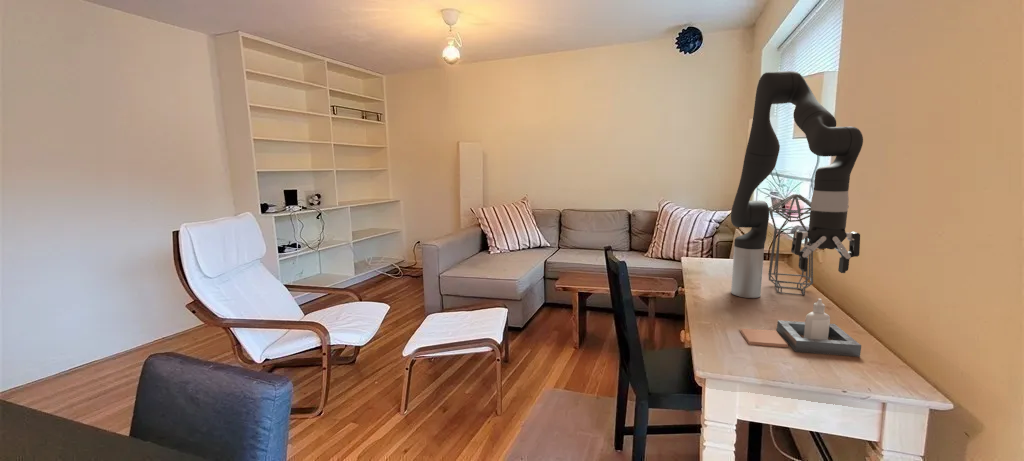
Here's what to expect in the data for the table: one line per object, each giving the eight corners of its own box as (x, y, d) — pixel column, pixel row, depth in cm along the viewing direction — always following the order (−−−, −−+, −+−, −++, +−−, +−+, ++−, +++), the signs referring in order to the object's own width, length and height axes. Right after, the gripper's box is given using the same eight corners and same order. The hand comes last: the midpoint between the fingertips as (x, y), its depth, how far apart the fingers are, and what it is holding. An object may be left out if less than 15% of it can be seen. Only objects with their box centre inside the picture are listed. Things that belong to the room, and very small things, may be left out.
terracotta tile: (740, 331, 124) (740, 328, 124) (775, 333, 122) (775, 330, 121) (748, 344, 115) (749, 341, 115) (787, 347, 113) (787, 344, 113)
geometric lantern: (765, 294, 155) (771, 195, 150) (763, 283, 169) (769, 192, 164) (819, 299, 148) (827, 195, 143) (812, 288, 161) (820, 193, 157)
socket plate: (776, 330, 124) (777, 320, 123) (833, 334, 120) (834, 323, 120) (795, 351, 110) (796, 340, 110) (859, 356, 107) (861, 345, 106)
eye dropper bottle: (830, 347, 112) (835, 302, 110) (804, 344, 114) (809, 300, 112) (825, 340, 116) (830, 297, 114) (800, 338, 118) (805, 295, 116)
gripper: (854, 207, 111) (847, 269, 114) (791, 206, 115) (785, 267, 117) (870, 210, 104) (862, 277, 107) (802, 210, 108) (796, 274, 110)
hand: (822, 271), depth 112 cm, fingers open, 8 cm apart
